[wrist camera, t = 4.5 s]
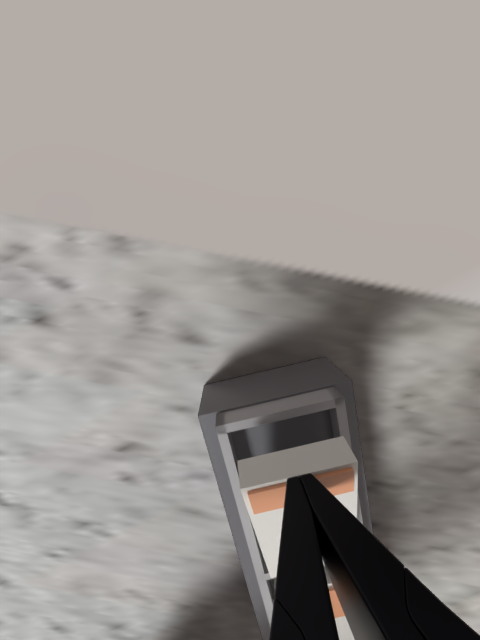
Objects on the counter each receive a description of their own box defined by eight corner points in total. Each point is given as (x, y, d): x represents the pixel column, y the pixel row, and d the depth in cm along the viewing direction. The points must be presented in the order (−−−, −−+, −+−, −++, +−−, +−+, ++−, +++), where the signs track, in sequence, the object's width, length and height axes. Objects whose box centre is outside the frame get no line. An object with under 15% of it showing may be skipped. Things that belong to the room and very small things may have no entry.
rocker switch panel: (264, 602, 17) (274, 697, 13) (204, 384, 14) (195, 428, 10) (360, 579, 17) (398, 667, 13) (325, 357, 14) (362, 390, 10)
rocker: (266, 549, 12) (271, 581, 11) (237, 460, 9) (240, 493, 8) (345, 531, 12) (357, 561, 11) (343, 435, 9) (360, 465, 8)
